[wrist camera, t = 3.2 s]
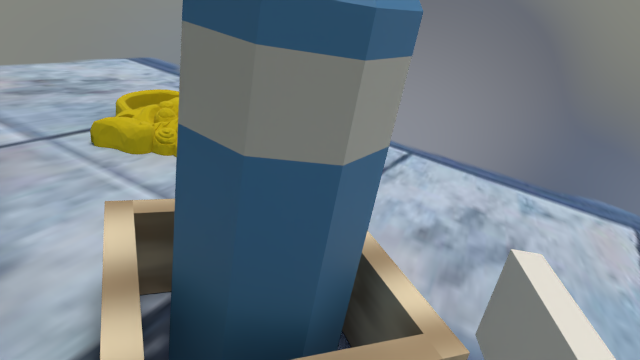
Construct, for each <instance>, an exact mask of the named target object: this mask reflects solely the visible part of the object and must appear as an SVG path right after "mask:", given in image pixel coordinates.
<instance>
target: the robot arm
mask: <svg viewBox="0 0 640 360" xmlns="http://www.w3.org/2000/svg"><path fill="white" fill-rule="evenodd" d="M475 335H476V337H477V340H478V343H479V346H480V348H481V351H482V354H483V357H484V359H485V360H616V359H615V358H614V356H613V355H612V353H611V352H610V351H609V349H608V348H607V346H606V345H605V343H604V342H603V341H602V339H601V338H600V336H599V335H598V334H597V332H596V331H595V329H594V328H593V326H592V325H591V324H590V322H589V321H588V319H587V318H586V316H585V315H584V314H583V312H582V311H581V309H580V308H579V307H578V305H577V304H576V302H575V301H574V299H573V298H572V297H571V295H570V294H569V292H568V291H567V289H566V288H565V287H564V285H563V284H562V282H561V281H560V280H559V278H558V277H557V275H556V274H555V272H554V271H553V270H552V268H551V267H550V265H549V264H548V262H547V261H546V260H545V258H544V257H543V255H542V254H536V253H531V252H525V251H519V250H513V249H511V250H510V253H509V255H508V258H507V260H506V262H505V265H504V267H503V270H502V272H501V274H500V277H499V279H498V282H497V284H496V286H495V289H494V291H493V294H492V296H491V298H490V301H489V303H488V306H487V308H486V310H485V313H484V315H483V318H482V320H481V322H480V325H479V327H478V330H477V332H476V334H475Z"/></svg>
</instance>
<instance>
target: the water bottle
mask: <svg viewBox="0 0 640 360" xmlns="http://www.w3.org/2000/svg"><path fill="white" fill-rule="evenodd" d="M182 11H183V12H182V37H181V62H180V87H179V112H178V138H177V163H176V189H175V214H174V240H173V265H172V291H171V316H170V342H169V360H292V359H297V358H302V357H307V356H313V355H318V354H323V353H328V352H333V351H337V348H338V344H339V340H340V336H341V332H342V328H343V324H344V320H345V316H346V312H347V309H348V305H349V301H350V297H351V293H352V289H353V285H354V281H355V277H356V273H357V269H358V265H359V262H360V258H361V254H362V250H363V246H364V242H365V238H366V234H367V230H368V226H369V222H370V218H371V215H372V211H373V207H374V203H375V199H376V195H377V191H378V187H379V183H380V179H381V175H382V171H383V168H384V164H385V160H386V156H387V152H388V148H389V144H390V140H391V136H392V132H393V128H394V124H395V121H396V117H397V113H398V109H399V105H400V101H401V97H402V93H403V89H404V85H405V81H406V78H407V74H408V70H409V66H410V62H411V58H412V54H413V50H414V46H415V42H416V38H417V34H418V30H419V26H420V23H421V19H422V15H423V10H422V7H421V4H420V2H419V0H183V10H182Z"/></svg>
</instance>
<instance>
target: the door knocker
mask: <svg viewBox="0 0 640 360" xmlns="http://www.w3.org/2000/svg"><path fill="white" fill-rule="evenodd" d="M178 112H179V92H178V91H172V90H145V91H138V92H133V93H129V94H126V95H123V96H122V97H120V98H119V99H118V100H117V102H116V117H108V118H104V119H100V120H97V121H94V123H93V124H92V127H91V130H90V133H91V142H93V143H94V146H97V147H105V148H113V149H118V150H120V151H123V152H126V153H130V154H146V153H150V152H153V153H156V154H159V155H165V156H170V155H174V156H176V157H177V138H178Z"/></svg>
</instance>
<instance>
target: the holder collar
mask: <svg viewBox="0 0 640 360" xmlns="http://www.w3.org/2000/svg"><path fill="white" fill-rule="evenodd" d="M174 214H175V199H155V200H127V201H105V211H104V244H103V278H102V311H101V345H100V360H144V351H143V337H142V323H141V309H140V296H139V295H144V294H152V293H161V292H169V291H172V265H173V240H174ZM342 331H343V333H344V334H345V336H346V338H347V340H348V342H349V343H350V345H351V347H352V348H348V349H343V350H338V351H333V352H328V353H323V354H318V355H313V356H307V357H302V358H297V359H292V360H467V358H468V356H469V354H470V352H469V351H468V350H467V349H466V348H465V346H464V345H463V344H462V343H461V342H460V340H459V339H458V338H457V337H456V336H455V334H454V333H453V332H452V331H451V330H450V329H449V327H448V326H447V325H446V324H445V323H444V321H443V320H442V319H441V318H440V317H439V315H438V314H437V313H436V312H435V311H434V309H433V308H432V307H431V306H430V305H429V303H428V302H427V301H426V300H425V299H424V297H423V296H422V295H421V294H420V293H419V291H418V290H417V289H416V288H415V287H414V286H413V284H412V283H411V282H410V281H409V280H408V278H407V277H406V276H405V275H404V274H403V272H402V271H401V270H400V269H399V268H398V266H397V265H396V264H395V263H394V262H393V260H392V259H391V258H390V257H389V256H388V254H387V253H386V252H385V251H384V250H383V249H382V247H381V246H380V245H379V244H378V243H377V241H376V240H375V239H374V238H373V237H372V235H371V234H370V233H369V232H368V231H367V234H366V238H365V242H364V246H363V250H362V254H361V258H360V262H359V265H358V269H357V273H356V277H355V281H354V285H353V289H352V293H351V297H350V301H349V305H348V309H347V312H346V316H345V320H344V324H343V328H342Z"/></svg>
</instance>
